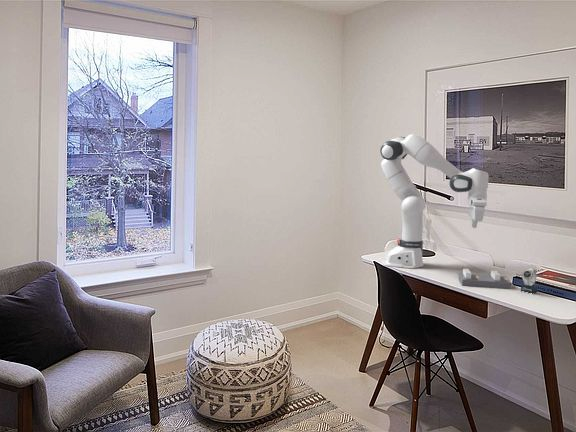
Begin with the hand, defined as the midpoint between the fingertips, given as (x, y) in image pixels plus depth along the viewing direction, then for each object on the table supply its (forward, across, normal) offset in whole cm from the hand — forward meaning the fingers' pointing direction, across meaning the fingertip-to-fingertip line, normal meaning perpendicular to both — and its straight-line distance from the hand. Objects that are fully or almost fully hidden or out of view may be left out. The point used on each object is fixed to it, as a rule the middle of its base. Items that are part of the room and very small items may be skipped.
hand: (474, 227), depth 248 cm
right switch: (+22, +14, +10) cm, 27 cm away
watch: (+25, +22, +23) cm, 41 cm away
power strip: (+25, +14, +5) cm, 29 cm away
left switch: (+22, +14, -3) cm, 26 cm away
